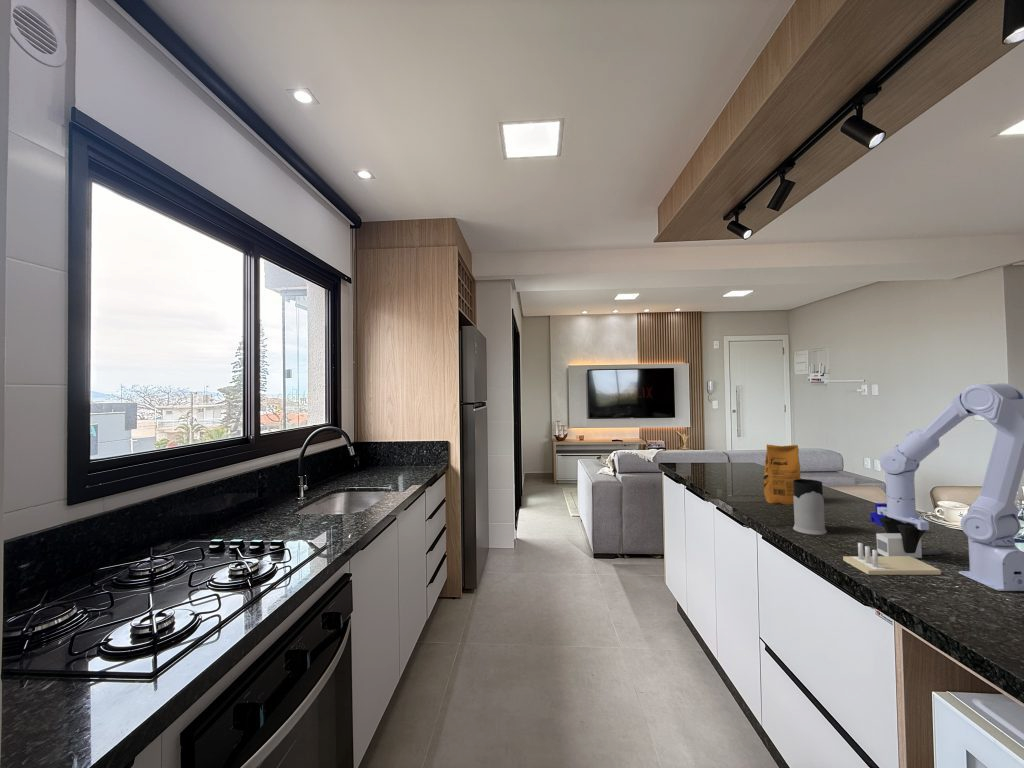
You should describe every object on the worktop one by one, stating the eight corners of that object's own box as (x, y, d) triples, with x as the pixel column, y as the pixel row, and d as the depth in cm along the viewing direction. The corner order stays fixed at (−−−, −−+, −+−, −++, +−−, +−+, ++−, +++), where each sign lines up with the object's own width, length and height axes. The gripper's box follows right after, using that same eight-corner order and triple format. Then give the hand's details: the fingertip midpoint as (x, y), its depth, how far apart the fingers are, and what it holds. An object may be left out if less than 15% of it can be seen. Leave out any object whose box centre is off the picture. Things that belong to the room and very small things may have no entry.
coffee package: (763, 497, 180) (760, 442, 181) (799, 500, 175) (797, 443, 176) (765, 503, 171) (763, 445, 172) (803, 506, 166) (801, 446, 166)
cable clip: (870, 521, 146) (869, 503, 146) (886, 522, 145) (885, 503, 145) (894, 533, 134) (893, 513, 135) (911, 533, 134) (910, 513, 134)
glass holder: (799, 534, 136) (797, 484, 136) (782, 520, 150) (780, 475, 150) (832, 535, 134) (830, 484, 134) (812, 521, 148) (810, 475, 148)
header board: (941, 574, 105) (940, 553, 105) (868, 574, 106) (867, 553, 106) (909, 560, 114) (909, 540, 114) (843, 560, 115) (842, 540, 115)
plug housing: (947, 557, 115) (946, 537, 115) (888, 558, 116) (887, 538, 116) (933, 552, 119) (932, 532, 119) (876, 552, 120) (875, 533, 120)
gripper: (941, 503, 110) (943, 559, 110) (895, 490, 124) (897, 540, 124) (910, 504, 110) (913, 560, 110) (868, 491, 125) (870, 540, 125)
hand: (903, 549), depth 117 cm, fingers closed on plug housing, 4 cm apart
